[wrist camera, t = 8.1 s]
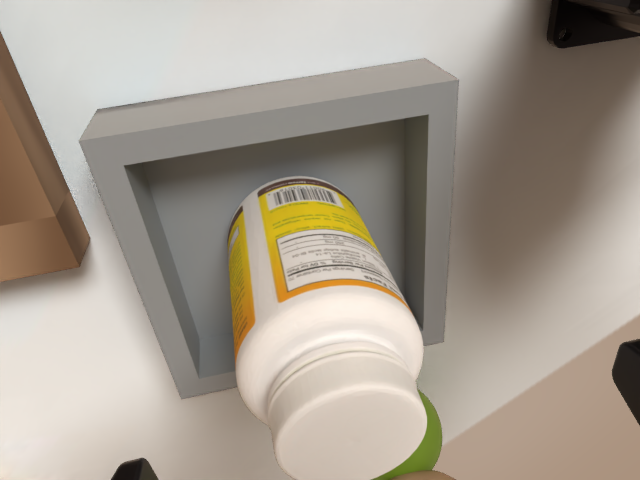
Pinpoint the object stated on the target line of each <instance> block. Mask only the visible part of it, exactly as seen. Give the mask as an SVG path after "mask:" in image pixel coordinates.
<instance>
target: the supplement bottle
mask: <svg viewBox="0 0 640 480" xmlns="http://www.w3.org/2000/svg"><path fill="white" fill-rule="evenodd" d="M227 245H228V263H229V277H230V293H231V306H232V321H233V335H234V353H235V370H236V379H237V385H238V389H239V392H240V395H241V398H242V399H243V401H244V403H245V405H246V406H247V408H248V409H249V410H250V412H252V413H253V414H254V415H255V416H256V417H257V418H258V419H259V420H261V421H262V422H263V423H265V424H266V425H268V426H269V428H270V430H271V434H272V440H273V447H274V454H275V457H276V460H277V462H278V464H279V466H280V467H281V469H282V470H283V471H284V472H285V473H286V474H287V475H289V476H290V477H292V478H293V479H295V480H371V479H374V478H377V477H379V476H381V475H383V474H385V473H387V472H389V471H391V470H392V469H394V468H396V467H397V466H399V465H400V464H401V463H403V462H404V461H405V460H406V459H408V458H409V457H410V456H411V455H412V454H413V452H414V451H415V450H416V449H417V448H418V446H419V445H420V443H421V442H422V440H423V438H424V435H425V432H426V428H427V415H426V411H425V408H424V405H423V403H422V400H421V398H420V396H419V393H418V391H417V386H416V382H415V381H416V379H417V377H418V375H419V373H420V370H421V366H422V362H423V351H424V348H423V340H422V335H421V332H420V330H419V327H418V325H417V322H416V320H415V318H414V316H413V314H412V312H411V310H410V309H409V307H408V305H407V303H406V301H405V299H404V297H403V295H402V294H401V292H400V290H399V288H398V286H397V284H396V282H395V281H394V279H393V277H392V275H391V273H390V271H389V269H388V267H387V266H386V264H385V262H384V260H383V258H382V256H381V254H380V252H379V251H378V249H377V247H376V245H375V243H374V241H373V239H372V238H371V236H370V234H369V232H368V230H367V228H366V226H365V224H364V222H363V220H362V218H361V216H360V215H359V212H358V210H357V209H356V207H355V206H354V204H353V203H352V201H351V200H350V199H349V198H348V196H347V195H346V194H345V193H344V192H343V191H341V190H340V189H339V188H337V187H336V186H334V185H332V184H331V183H329V182H326V181H324V180H321V179H318V178H314V177H308V176H291V177H284V178H280V179H276V180H273V181H271V182H268V183H266V184H264V185H262V186H260V187H259V188H257V189H256V190H254V191H253V192H252V193H251V194H249V195H248V196H247V197H246V198H245V199H244V200H243V201H242V203H241V204H240V205H239V207H238V208H237V210H236V211H235V213H234V215H233V217H232V219H231V222H230V225H229V230H228V237H227Z"/></svg>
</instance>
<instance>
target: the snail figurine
mask: <svg viewBox="0 0 640 480" xmlns="http://www.w3.org/2000/svg"><path fill="white" fill-rule="evenodd" d="M417 391H418V393H419V396H420V398H421V400H422V403H423V405H424V408H425V411H426V415H427V428H426V432H425V435H424V438H423V440H422V442H421V443H420V445H419V446H418V448H417V449H416V450H415V451H414V452H413V454H412V455H411V456H410V457H409V458H408V459H406V460H405V461H404V462H403V463H401V464H400V465H399V466H397V467H396V468H394V469H392V470H391V471H389V472H387V473H385V474H383V475H381V476H379V477H377V478H374V479H371V480H456V479H454V478H452V477H450V476H448V475H446V474H444V473H441V472H438V471H433V470H432V469H433V467H434V466H435V464H436V462H437V460H438V457H439V455H440V451H441V446H442V428H441V423H440V420H439V417H438V414H437V412H436V410H435V408H434V406H433V405H432V403H431V402H430V401H429V399H428V398H427V397H426V396H425V395H424V394H423V393H422V392H421V391H419V390H418V389H417Z"/></svg>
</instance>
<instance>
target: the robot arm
mask: <svg viewBox="0 0 640 480" xmlns="http://www.w3.org/2000/svg"><path fill="white" fill-rule="evenodd" d="M563 28H565V29H566V32H565V34H564V36H563V37H562V38H560V39H559V34H560V32H561V30H562V29H563ZM637 36H640V0H552V4H551V11H550V18H549V24H548V31H547V40H548V42H549V44H551V45H552V46H555V47H558V48H568V47H574V46H580V45H587V44H593V43H599V42H606V41H612V40H618V39H625V38H631V37H637ZM612 376H613V380H614V383H615V384H616V386H617V388H618V390H619V391H620V393H621V395H622V397H623V398H624V400H625V402H626V403H627V405H628V407H629V408H630V410H631V412H632V414H633V415H634V417H635V418H636V420H637V422H638V423H639V425H640V339H636V340H632V341H628V342H624V343H622V344H621V345H620V347H619V349H618V352H617V355H616V359H615V362H614V365H613V369H612ZM111 480H158V478H157V476H156V474H155V473H154V471H153V469H152V467H151V466H150V464H149V462H148V461H147V460H146V459H144V458H140V459H135V460H131V461H127V462H124V463H122V464H121V465H120V466H119V467H118V469H117V470H116V472H115V474H114V475H113V477H112V479H111Z"/></svg>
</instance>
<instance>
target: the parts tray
mask: <svg viewBox="0 0 640 480" xmlns="http://www.w3.org/2000/svg"><path fill="white" fill-rule="evenodd" d="M458 86H459V79H457V78H456V77H454V76H452V75H451V74H449V73H448V72H446V71H444V70H443V69H441V68H440V67H438V66H436V65H435V64H433V63H432V62H430V61H429V60H427V59H425V58H424V59H418V60H411V61H405V62H399V63H392V64H386V65H379V66H373V67H366V68H360V69H354V70H347V71H341V72H334V73H328V74H321V75H315V76H309V77H302V78H296V79H289V80H283V81H276V82H270V83H264V84H257V85H251V86H244V87H238V88H231V89H225V90H219V91H212V92H206V93H199V94H193V95H186V96H180V97H174V98H167V99H161V100H154V101H148V102H142V103H135V104H129V105H122V106H116V107H109V108H103V109H97V111H96V113H95V114H94V116H93V118H92V119H91V121H90V123H89V124H88V126H87V128H86V129H85V131H84V133H83V135H82V136H81V138H80V140H79V143H80V145H81V148H82V150H83V153H84V155H85V158H86V160H87V163H88V165H89V168H90V170H91V173H92V175H93V178H94V180H95V183H96V185H97V188H98V190H99V193H100V196H101V198H102V201H103V203H104V206H105V208H106V211H107V213H108V216H109V218H110V221H111V223H112V226H113V228H114V231H115V233H116V236H117V238H118V241H119V243H120V246H121V248H122V251H123V253H124V256H125V258H126V261H127V263H128V266H129V268H130V271H131V274H132V276H133V279H134V281H135V284H136V286H137V289H138V291H139V294H140V296H141V299H142V301H143V304H144V306H145V309H146V311H147V314H148V316H149V319H150V321H151V324H152V326H153V329H154V331H155V334H156V336H157V339H158V341H159V344H160V347H161V349H162V352H163V354H164V357H165V359H166V362H167V364H168V367H169V369H170V372H171V374H172V377H173V379H174V382H175V384H176V387H177V389H178V392H179V394H180V397H181V399H185V398H189V397H194V396H199V395H203V394H208V393H212V392H217V391H221V390H226V389H231V388H235V387H238V385H237V379H236V370H235V353H234V335H233V321H232V306H231V293H230V277H229V263H228V245H227V237H228V230H229V225H230V222H231V219H232V217H233V215H234V213H235V211H236V210H237V208H238V207H239V205H240V204H241V203H242V201H243V200H244V199H245V198H246V197H247V196H248V195H249V194H251V193H252V192H253V191H254V190H256V189H257V188H259V187H260V186H262V185H264V184H266V183H268V182H271V181H273V180H276V179H280V178H284V177H291V176H308V177H314V178H318V179H321V180H324V181H326V182H329V183H331V184H332V185H334V186H336V187H337V188H339V189H340V190H341V191H343V192H344V193H345V194H346V195H347V196H348V198H349V199H350V200H351V201H352V203H353V204H354V206H355V207H356V209H357V210H358V212H359V215H360V216H361V218H362V220H363V222H364V224H365V226H366V228H367V230H368V232H369V234H370V236H371V238H372V239H373V241H374V243H375V245H376V247H377V249H378V251H379V252H380V254H381V256H382V258H383V260H384V262H385V264H386V266H387V267H388V269H389V271H390V273H391V275H392V277H393V279H394V281H395V282H396V284H397V286H398V288H399V290H400V292H401V294H402V295H403V297H404V299H405V301H406V303H407V305H408V307H409V309H410V310H411V312H412V314H413V316H414V318H415V320H416V322H417V325H418V327H419V330H420V332H421V335H422V340H423V346H427V345H432V344H437V343H441V342H444V328H445V310H446V293H447V276H448V259H449V241H450V224H451V207H452V190H453V172H454V155H455V138H456V120H457V103H458Z"/></svg>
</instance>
